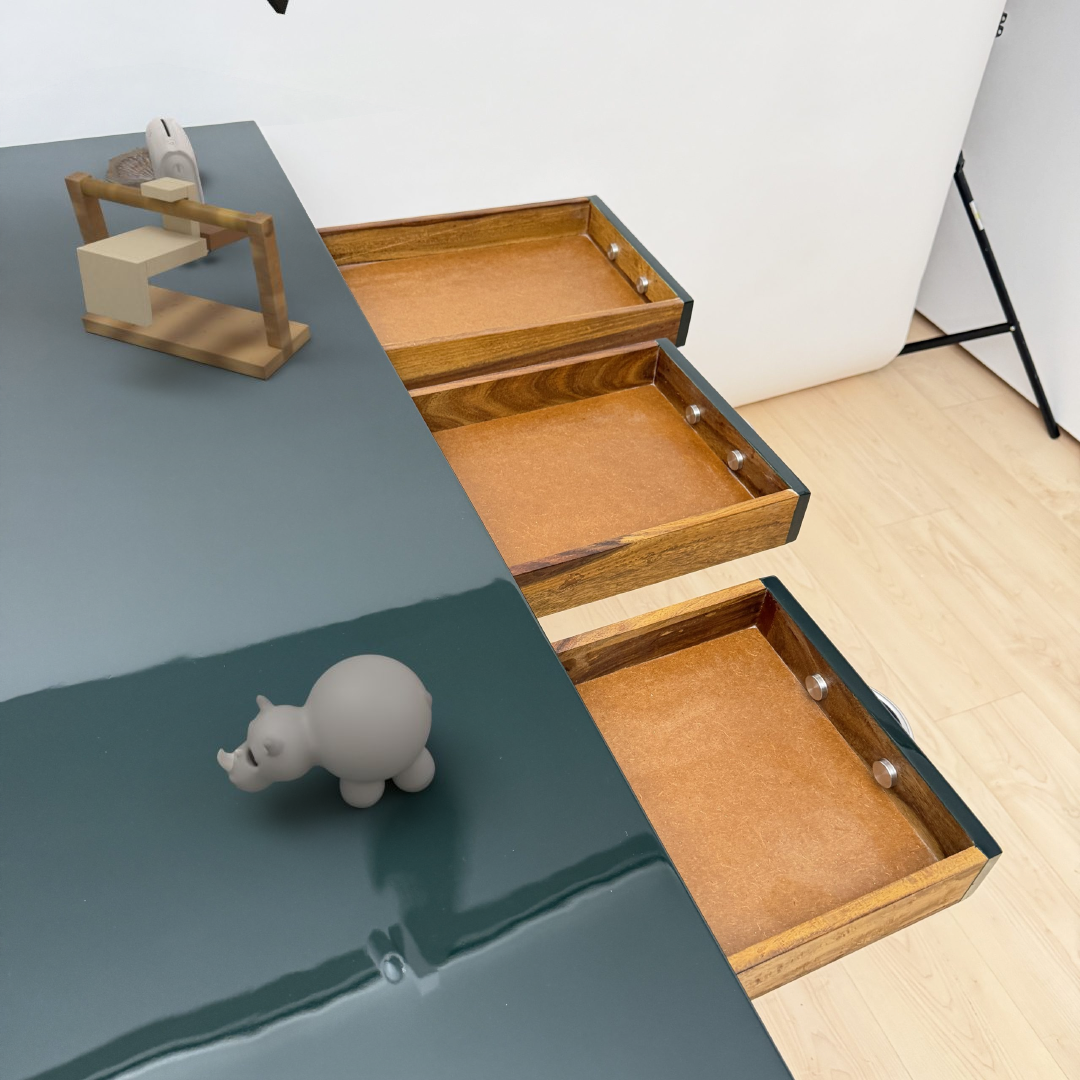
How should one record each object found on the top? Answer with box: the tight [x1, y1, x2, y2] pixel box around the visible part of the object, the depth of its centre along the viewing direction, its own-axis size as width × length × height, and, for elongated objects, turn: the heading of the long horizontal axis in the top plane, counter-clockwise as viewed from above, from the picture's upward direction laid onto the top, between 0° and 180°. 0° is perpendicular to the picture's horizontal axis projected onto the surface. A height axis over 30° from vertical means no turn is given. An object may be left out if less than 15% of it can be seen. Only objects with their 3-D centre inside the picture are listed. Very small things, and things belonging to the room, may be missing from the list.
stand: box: [64, 170, 311, 381], centre depth 83 cm, size 20×8×14 cm, turn 70°
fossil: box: [105, 145, 198, 189], centre depth 110 cm, size 10×12×3 cm
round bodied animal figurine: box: [216, 653, 436, 809], centre depth 51 cm, size 7×12×8 cm, turn 109°
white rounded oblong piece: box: [144, 116, 210, 254], centre depth 98 cm, size 10×4×12 cm, turn 25°
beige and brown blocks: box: [76, 177, 249, 327], centre depth 80 cm, size 6×10×17 cm
